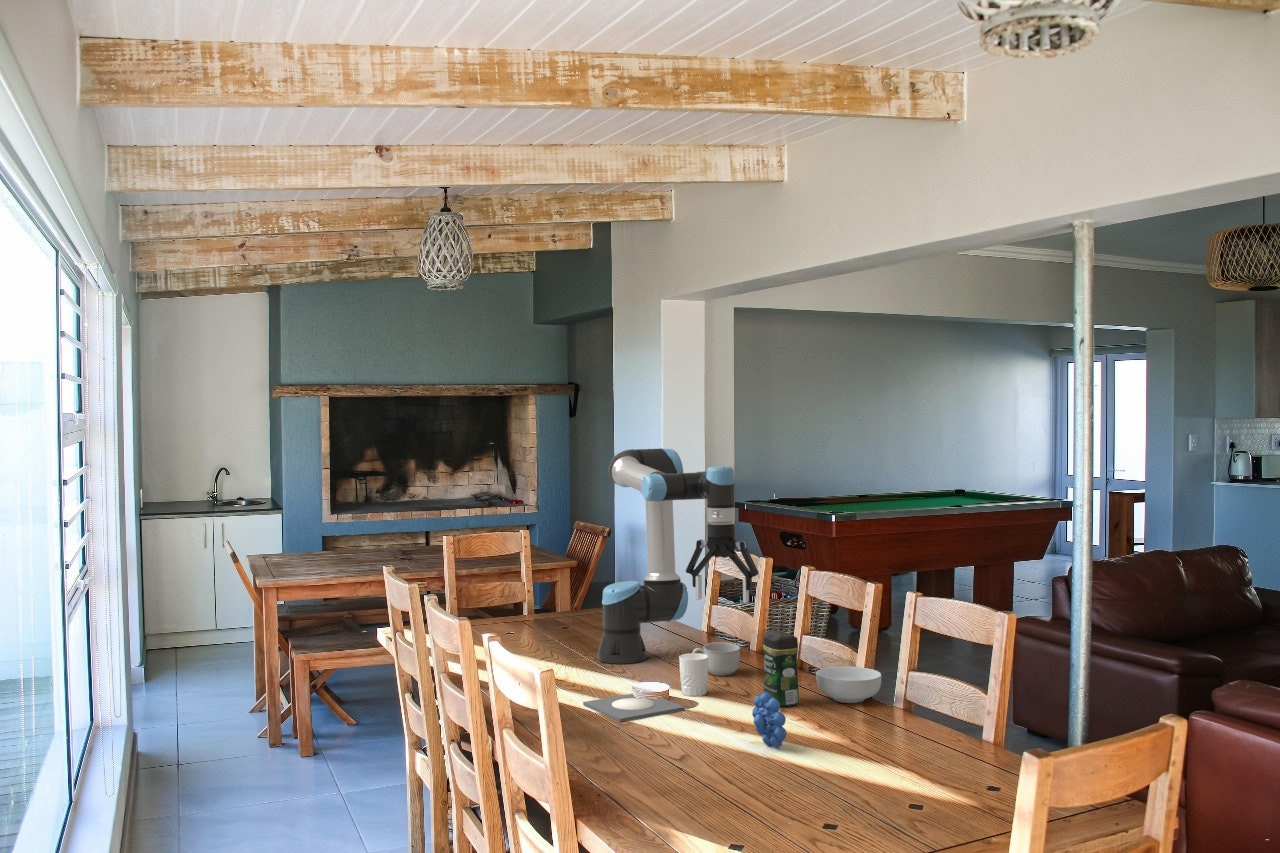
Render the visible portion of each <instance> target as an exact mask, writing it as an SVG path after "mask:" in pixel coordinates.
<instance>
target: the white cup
mask: <svg viewBox="0 0 1280 853" xmlns="http://www.w3.org/2000/svg"><path fill="white" fill-rule="evenodd" d="M678 659H679V660H678V661H679V662H678V663H679V676H680V686H681V687H680V688H681V694H682V695H683V696H688V697H700V696H701V697H702V696H704V695H706V694H707V692H708V691H707V690H708V689H707V688H708V676H709V673H708V672H709V671H708V656H707V655H705V654H702V653H700V652H699V653H697V652H696V653H684V654H681V655H678Z"/></svg>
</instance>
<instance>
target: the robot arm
mask: <svg viewBox="0 0 1280 853" xmlns="http://www.w3.org/2000/svg"><path fill="white" fill-rule="evenodd" d="M607 471H608V472H607V473H608V476H609V478H610V480H611V481H612V482H613V483H614V484H616V485H617V486H619V487H622V488H632V489H635V490H637V491H640V493H641V495H642V497H643V498H644V500H645V521H646V524H645V525H646V544H647V545H646V546H647V547H646V550H647V568H648V569H647V574H646V576H645V577H643V584H642V585H641V583H640V582H639V581H636V580H629V581H627V580H626V581H618V582H614V583H611V584H608V585H606V586H605V587H604V588H603V590H602V600H601V605H602V636H601V639H600V640H601V641H600V643H599V646H598V650H597V660H598V661H599V662H602V663H608V664H613V665H614V664H617V665H618V664H620V665H623V664H625V665H626V664H635V663H640V662H644V661H645V660H647V659H648V658H647V648H646V646H645V643H644V639H643V637H642V633H641V625H642V624H649V623H651V624H652V623H659V622H667V623H668V622H669V623H670V622H671V621H678V620H681V619H682V618H683V617H684V615H685V614H686V612H687V608H688V605H689V604H688V603H689V593H688V592H689V591H688V587H687V585H686V584H685V583H684V582H682V581H681V576H679V575H678V574H677V572H676V556H675V555H676V554H675V553H676V552H675V551H676V550H675V548H676V547H675V528H674V526H675V525H674V522H675V521H674V503H673V501H691V500H706V504H707V505H706V506H707V507H706V510H707V511H706V513H707V514H706V516H707V518H706V519H707V522H708V524H707V525H706V526H707V530H706V531H707V540H703V539H697V540H696V542H695V543H696V545H695V550H694V551H693V554H692V555H691V556H692V557H691V558H690V560H689V562H688V565H687V566H686V568H685V572H686V573H687V574H690V575H691V576H692V587H693V588H695V601H700V600H701V599H703V585H702V584H703V582H702V581H703V580H702V578H703V577H702V576H703V575H702V574H701V572H702V570H703V569H704V568H705V567H706V566H707V564H708V563H709V562H710V560H711V559H712V558H713V557H714V558H725V559H726V558H729V559H730V560H731V561H732V562H733V563H734V565H736V567H737V569H738V570H739V571H740V573H741V574H742V575H744V578H742V603H744V604H746V603H749V601H750V595H749V594H750V591H751V590H752V588H753V578H754V577H756V576H758V575H759V570H758V568H757V566H756V564H755V562H754V559H753V558H752V556H751V553H750V551H749V548H748V543H747V541H746V540H743V541H736V524H735V523H734V522H735V521H736V516H735V515H736V509H735V501H736V500H735V499H736V498H735V482H736V479H735V473H734V472H735V469H734V468H733V467H732V466H726V465H725V466H724V465H722V466H721V465H717V466H715V465H714V466H709V467H707V470H706V471H704V470H703V471H696V472H684V466H683V463H682V459H681V457H680V455H679V453H678V452H677V451H676V450H674V449H671V448H662V447H660V448H640V449H639V448H638V449H625V450H622V451H621V452H619V453H617V454H616V455H614V456H613V457H612V458H611V459H610V461H609V465H608V469H607ZM705 547H707V549H708V552H706V554H705V556H704V557H703V559H701V561H699V558H700V556H701V555H702V552H703V549H704V548H705ZM736 548H737V549H738V550H740V553H741V555H742V557H743V559H744V561H745V563H746V564H745V563H744V562H743V560H741V558H740V557H739V554H738V553H737V552H736V551H735V549H736ZM698 561H699V563H698V565H697V562H698ZM696 565H697V566H696Z"/></svg>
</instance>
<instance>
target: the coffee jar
mask: <svg viewBox="0 0 1280 853" xmlns="http://www.w3.org/2000/svg"><path fill="white" fill-rule="evenodd" d="M762 638H763V639H762V649H763V692H768V693H769V694H770V695H771V697H772V698H775V699H776V700H777V701H778V702H779V703H780V707H784V708H789V707H793V706H795V705H798V704H799V702H800V693H799V678H798V677H799V676H798V671H799V670H798V653H799V641H798V637H797V636H794V635H793V634H790V633H787V632H784V631H782V630H781V629H778V630H777V629H776V630H767V631H766V632H765V633H764V634H763V637H762Z"/></svg>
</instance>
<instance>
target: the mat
mask: <svg viewBox="0 0 1280 853" xmlns="http://www.w3.org/2000/svg"><path fill="white" fill-rule="evenodd" d="M582 706H584V707H586V708H589V709H591V710H593V711H595V712H598V713H600V714H601V715H604V716H606V717H608V718H610V719H612V720H615V721H617V722H618V723H621V722H628V721H629V722H630V721H633V720H638V719H639V720H640V719H643V718H649V717H655V716H660V715H665V714H671V713H676V712H682V711H685V706H683V705H681V704H678V703H675V702H673V701H670V700H667V699H666V698H663V697H661V698H657V699H642V698H636V697H634V695H633V693H628V694H621V695H616V696H612V697H605V698H598V699H593V700H587V701H583V702H582Z"/></svg>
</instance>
